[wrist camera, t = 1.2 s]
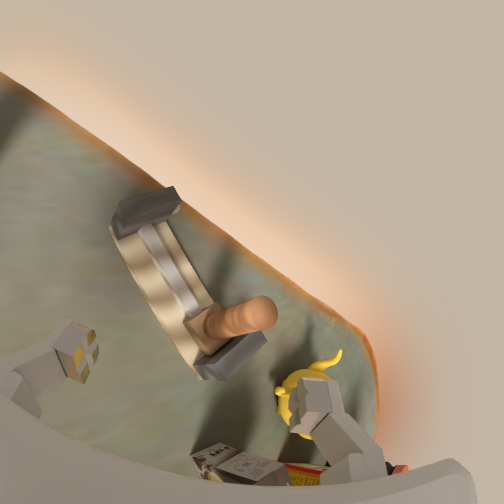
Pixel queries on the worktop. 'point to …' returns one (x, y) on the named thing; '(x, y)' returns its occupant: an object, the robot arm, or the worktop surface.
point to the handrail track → (162, 290)
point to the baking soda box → (305, 473)
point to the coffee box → (239, 467)
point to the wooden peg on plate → (230, 322)
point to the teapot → (291, 382)
